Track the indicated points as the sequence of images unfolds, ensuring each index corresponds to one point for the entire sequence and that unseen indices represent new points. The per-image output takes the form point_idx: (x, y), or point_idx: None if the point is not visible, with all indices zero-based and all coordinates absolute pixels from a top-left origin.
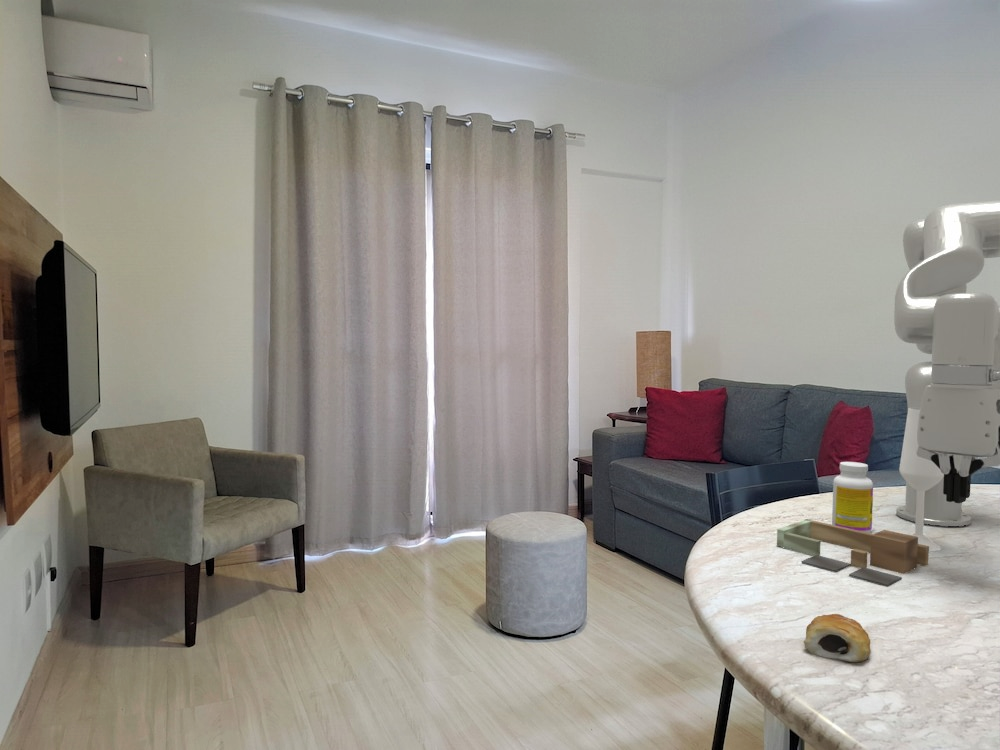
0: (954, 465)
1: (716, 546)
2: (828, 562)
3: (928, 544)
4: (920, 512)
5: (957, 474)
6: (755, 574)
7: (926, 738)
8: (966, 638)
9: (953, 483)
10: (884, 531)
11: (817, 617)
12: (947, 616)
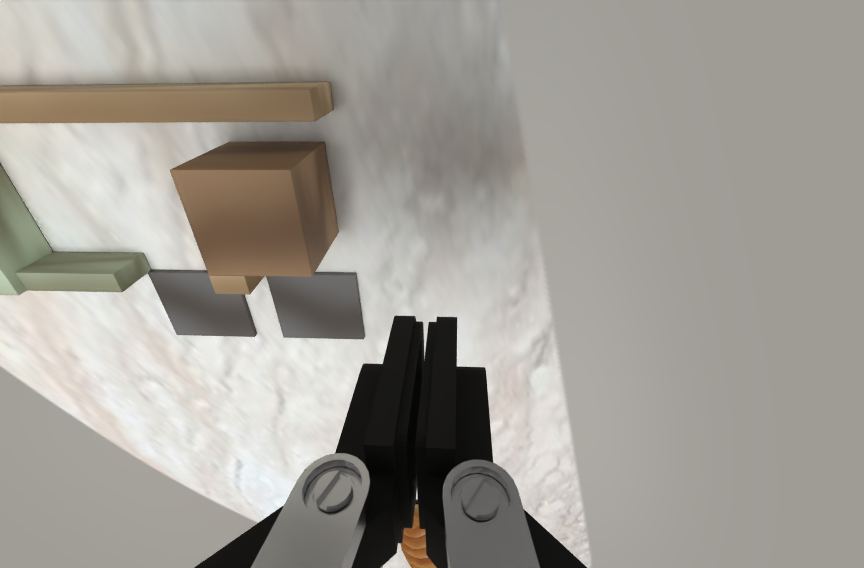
0: (358, 541)
1: (25, 362)
2: (206, 302)
3: None
4: None
5: (396, 461)
6: (205, 429)
7: None
8: (539, 439)
9: (416, 476)
10: (189, 195)
11: (410, 563)
12: (497, 390)
